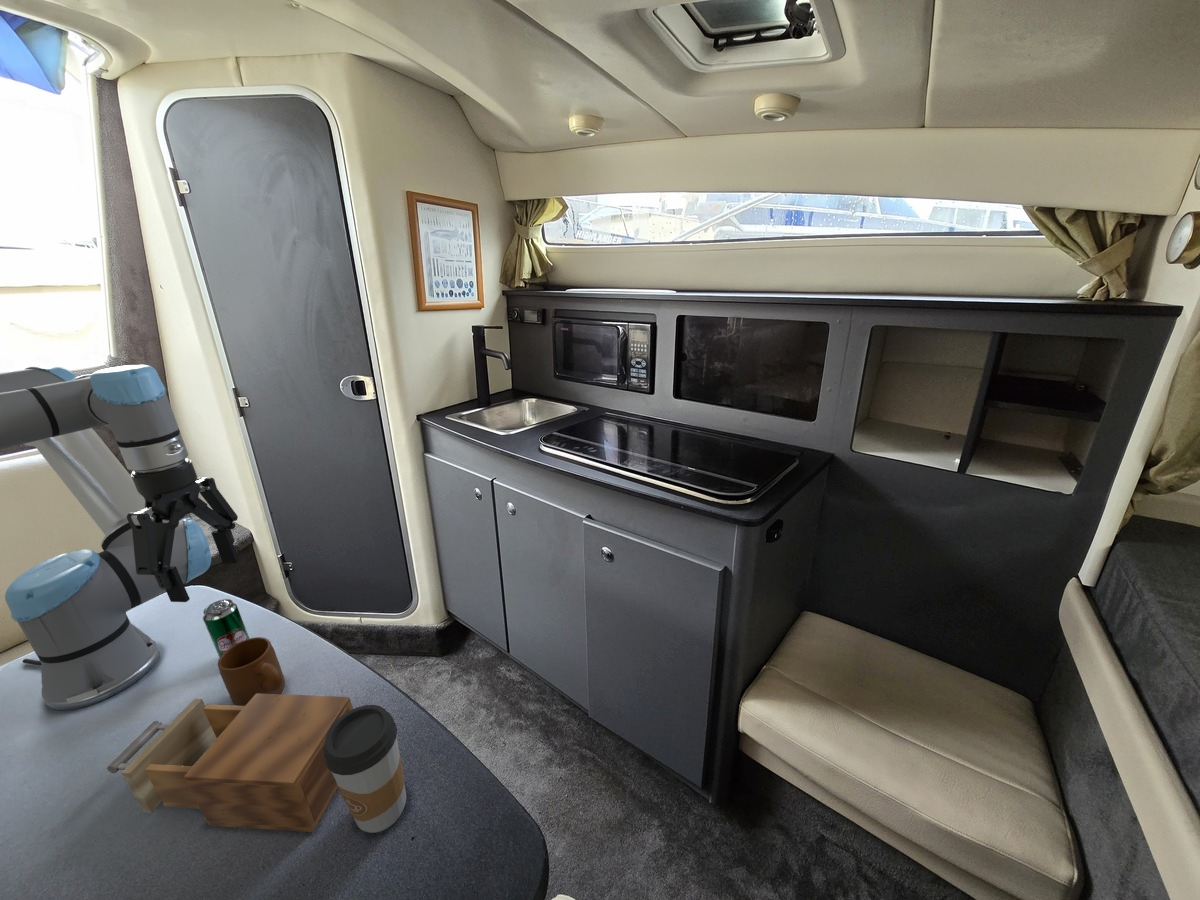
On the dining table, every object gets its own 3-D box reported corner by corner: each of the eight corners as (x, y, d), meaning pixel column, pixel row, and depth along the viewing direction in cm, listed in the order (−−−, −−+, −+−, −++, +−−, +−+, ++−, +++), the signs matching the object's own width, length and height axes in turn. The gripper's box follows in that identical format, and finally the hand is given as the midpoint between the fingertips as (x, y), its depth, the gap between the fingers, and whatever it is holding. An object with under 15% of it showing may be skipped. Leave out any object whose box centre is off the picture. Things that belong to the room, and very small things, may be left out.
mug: (312, 695, 84) (297, 652, 81) (267, 731, 78) (249, 686, 75) (270, 671, 90) (254, 630, 86) (225, 703, 83) (206, 661, 80)
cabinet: (208, 825, 65) (183, 776, 62) (274, 738, 77) (256, 693, 73) (313, 832, 64) (293, 782, 60) (363, 743, 76) (349, 696, 72)
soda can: (226, 673, 90) (204, 620, 85) (219, 659, 93) (197, 607, 88) (258, 656, 93) (238, 605, 89) (250, 644, 96) (231, 593, 92)
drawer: (105, 810, 67) (80, 770, 64) (178, 733, 77) (160, 696, 74) (237, 818, 65) (218, 778, 62) (293, 739, 76) (279, 701, 73)
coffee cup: (333, 829, 64) (303, 748, 59) (381, 770, 71) (358, 693, 66) (383, 854, 61) (356, 772, 56) (427, 790, 68) (408, 712, 63)
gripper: (110, 497, 67) (169, 626, 75) (237, 438, 88) (272, 544, 97) (61, 497, 68) (124, 625, 76) (198, 439, 89) (236, 544, 97)
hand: (207, 580), depth 86 cm, fingers open, 10 cm apart
